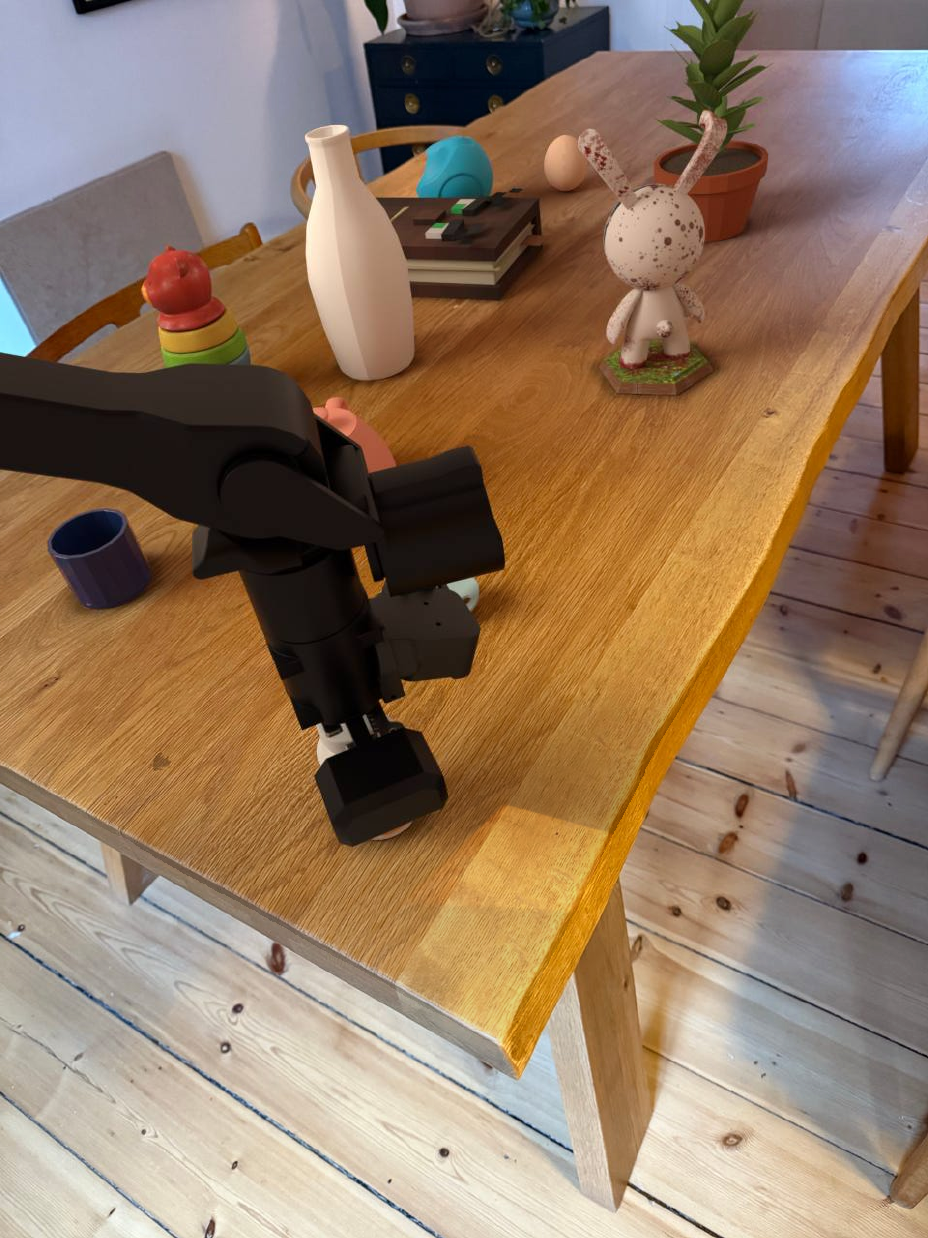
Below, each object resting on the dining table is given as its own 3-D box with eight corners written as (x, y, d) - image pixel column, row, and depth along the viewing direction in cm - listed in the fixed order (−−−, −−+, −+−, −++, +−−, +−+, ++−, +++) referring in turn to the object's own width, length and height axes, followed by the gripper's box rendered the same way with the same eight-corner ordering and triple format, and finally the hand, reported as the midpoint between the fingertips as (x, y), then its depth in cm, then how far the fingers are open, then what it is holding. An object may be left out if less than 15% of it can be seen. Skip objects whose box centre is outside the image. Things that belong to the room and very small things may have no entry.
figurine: (692, 331, 102) (702, 84, 85) (739, 380, 93) (761, 115, 76) (572, 359, 101) (558, 115, 84) (608, 411, 92) (600, 150, 75)
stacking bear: (174, 396, 108) (115, 249, 96) (256, 373, 109) (208, 225, 97) (183, 438, 100) (120, 283, 88) (271, 413, 102) (221, 257, 90)
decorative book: (364, 188, 131) (558, 187, 120) (375, 240, 137) (561, 244, 125) (298, 240, 119) (507, 245, 108) (313, 295, 124) (513, 305, 113)
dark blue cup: (79, 619, 79) (49, 568, 75) (74, 575, 84) (45, 524, 80) (157, 592, 80) (131, 540, 76) (147, 550, 85) (122, 499, 81)
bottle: (313, 371, 108) (250, 143, 90) (382, 333, 113) (334, 109, 95) (373, 396, 101) (317, 155, 84) (442, 354, 106) (403, 119, 89)
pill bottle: (426, 775, 61) (400, 679, 55) (415, 843, 58) (386, 749, 51) (350, 775, 62) (315, 681, 56) (334, 843, 58) (295, 750, 52)
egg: (592, 181, 142) (590, 127, 137) (583, 196, 138) (580, 141, 132) (551, 183, 144) (547, 129, 139) (541, 198, 140) (537, 143, 134)
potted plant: (628, 238, 124) (625, -24, 103) (696, 201, 130) (706, -53, 110) (718, 259, 115) (733, -23, 94) (786, 218, 121) (815, -55, 101)
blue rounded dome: (438, 205, 144) (426, 126, 136) (506, 203, 140) (498, 122, 132) (412, 234, 136) (398, 152, 128) (484, 233, 132) (473, 149, 124)
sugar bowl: (262, 547, 83) (227, 454, 76) (302, 462, 93) (274, 372, 86) (389, 544, 81) (365, 448, 74) (416, 457, 91) (397, 365, 84)
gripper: (523, 661, 42) (548, 843, 53) (396, 472, 55) (435, 648, 66) (300, 751, 40) (372, 922, 51) (222, 532, 53) (292, 704, 64)
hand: (372, 782), depth 58 cm, fingers closed on pill bottle, 5 cm apart
